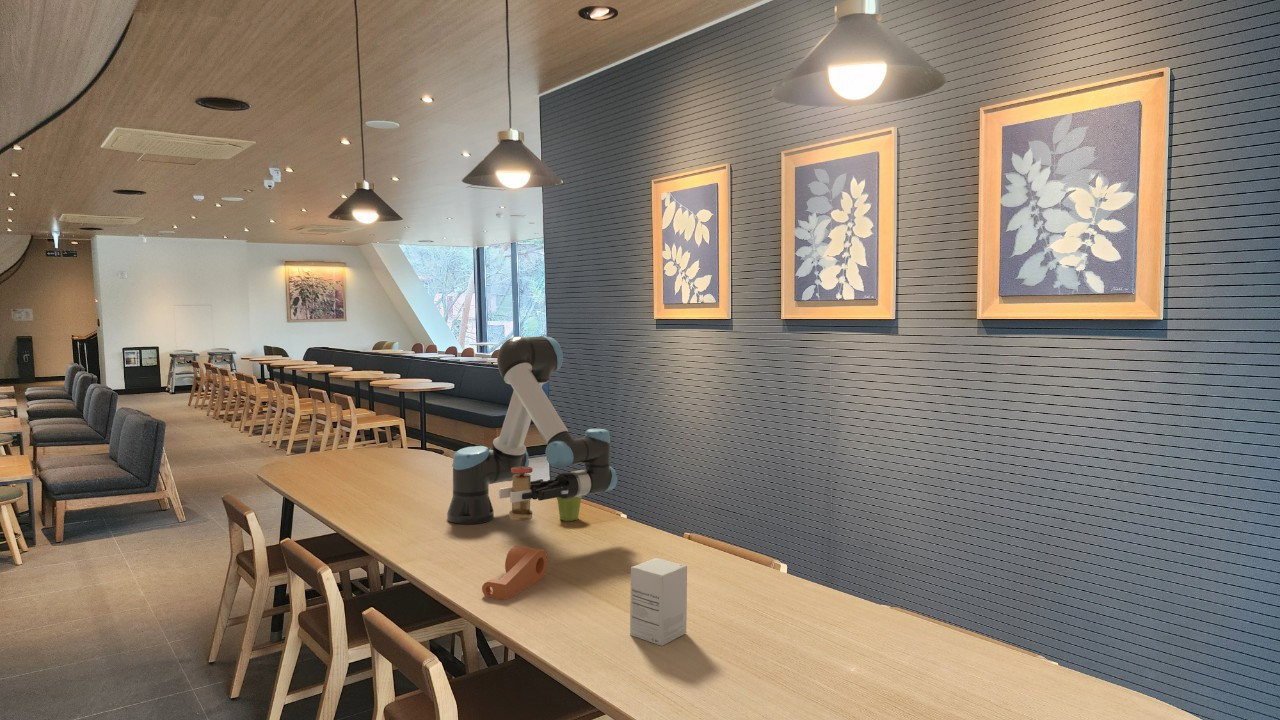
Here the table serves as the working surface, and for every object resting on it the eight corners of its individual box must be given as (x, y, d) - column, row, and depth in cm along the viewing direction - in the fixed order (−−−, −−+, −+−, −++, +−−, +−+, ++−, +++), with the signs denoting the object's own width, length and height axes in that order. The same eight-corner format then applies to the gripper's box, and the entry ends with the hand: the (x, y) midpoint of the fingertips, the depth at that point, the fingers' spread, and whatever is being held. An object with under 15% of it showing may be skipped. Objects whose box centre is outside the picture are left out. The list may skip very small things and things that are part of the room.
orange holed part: (521, 571, 207) (521, 542, 207) (547, 576, 204) (547, 546, 204) (477, 596, 189) (477, 563, 188) (505, 601, 186) (505, 568, 185)
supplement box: (654, 622, 173) (655, 556, 173) (687, 633, 168) (688, 565, 167) (628, 635, 166) (629, 566, 166) (661, 647, 161) (662, 575, 160)
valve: (504, 517, 220) (505, 468, 219) (523, 513, 225) (524, 465, 224) (517, 521, 216) (518, 471, 215) (536, 518, 220) (537, 469, 219)
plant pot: (581, 523, 257) (582, 497, 256) (553, 522, 257) (553, 496, 256) (584, 515, 266) (584, 490, 265) (556, 515, 266) (557, 490, 266)
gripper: (590, 503, 226) (523, 515, 210) (553, 491, 239) (487, 502, 223) (591, 477, 225) (524, 488, 209) (553, 467, 238) (488, 476, 222)
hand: (505, 495), depth 216 cm, fingers closed on valve, 5 cm apart
